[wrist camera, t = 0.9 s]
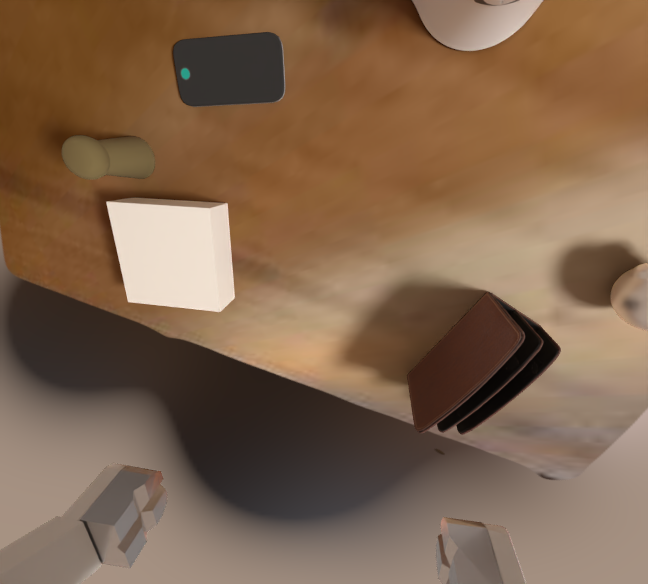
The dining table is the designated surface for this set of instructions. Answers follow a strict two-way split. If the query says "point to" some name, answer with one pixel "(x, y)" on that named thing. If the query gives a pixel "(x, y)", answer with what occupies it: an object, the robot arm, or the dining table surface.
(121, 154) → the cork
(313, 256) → the dining table surface
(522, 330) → the letter holder
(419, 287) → the dining table surface
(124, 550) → the robot arm
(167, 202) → the white block
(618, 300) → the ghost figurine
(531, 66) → the dining table surface
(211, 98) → the smartphone
